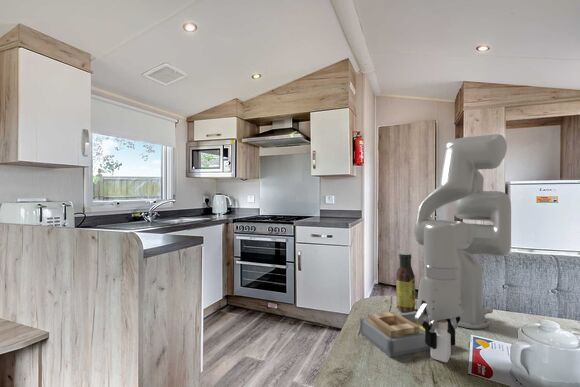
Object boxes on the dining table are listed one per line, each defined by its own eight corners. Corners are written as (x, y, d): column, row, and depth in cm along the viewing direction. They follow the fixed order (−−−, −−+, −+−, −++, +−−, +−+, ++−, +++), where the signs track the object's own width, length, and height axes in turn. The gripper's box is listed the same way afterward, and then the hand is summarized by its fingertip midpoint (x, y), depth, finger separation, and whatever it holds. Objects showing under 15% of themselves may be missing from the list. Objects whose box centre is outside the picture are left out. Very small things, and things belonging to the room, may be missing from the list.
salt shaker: (434, 352, 79) (434, 315, 79) (451, 357, 76) (451, 319, 76) (429, 358, 75) (429, 320, 75) (447, 364, 73) (447, 325, 73)
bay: (415, 324, 96) (415, 311, 96) (452, 345, 82) (452, 330, 82) (360, 333, 89) (360, 319, 89) (389, 357, 76) (389, 341, 76)
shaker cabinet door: (393, 326, 91) (393, 311, 91) (419, 343, 81) (419, 326, 81) (367, 330, 88) (367, 315, 88) (390, 348, 78) (390, 331, 78)
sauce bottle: (416, 313, 104) (416, 256, 104) (397, 312, 105) (397, 255, 105) (413, 306, 110) (413, 252, 110) (395, 305, 111) (395, 251, 111)
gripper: (454, 266, 82) (454, 333, 82) (401, 271, 77) (401, 342, 77) (479, 273, 75) (479, 346, 75) (423, 279, 70) (423, 358, 70)
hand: (440, 343), depth 76 cm, fingers closed on salt shaker, 5 cm apart
